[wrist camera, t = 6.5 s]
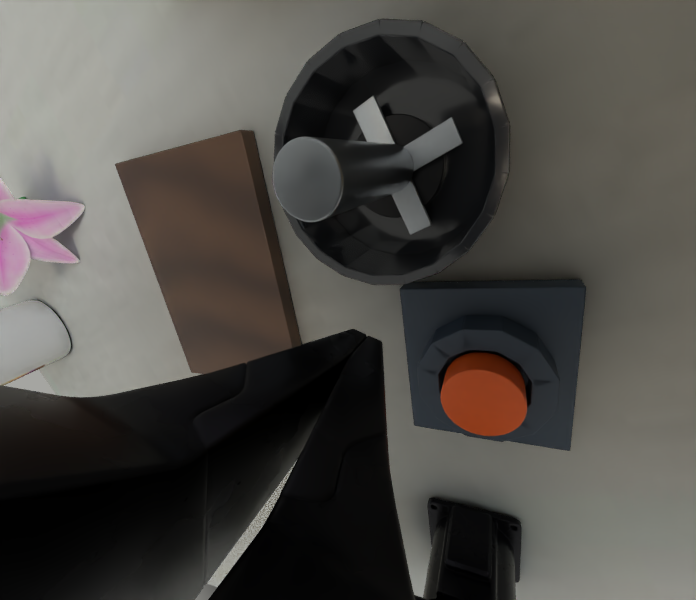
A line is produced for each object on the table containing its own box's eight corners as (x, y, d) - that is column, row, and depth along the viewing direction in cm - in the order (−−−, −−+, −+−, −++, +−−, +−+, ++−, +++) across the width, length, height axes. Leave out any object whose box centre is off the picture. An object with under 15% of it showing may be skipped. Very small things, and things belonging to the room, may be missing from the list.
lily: (65, 280, 37) (-3, 332, 29) (-59, 198, 32) (-186, 233, 23) (133, 213, 34) (78, 250, 26) (8, 109, 29) (-110, 114, 20)
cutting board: (309, 378, 26) (302, 387, 25) (201, 365, 31) (191, 372, 30) (253, 130, 20) (240, 129, 19) (129, 163, 25) (114, 163, 24)
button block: (566, 436, 20) (576, 477, 17) (417, 414, 24) (407, 445, 21) (581, 278, 16) (596, 301, 14) (404, 282, 20) (390, 300, 18)
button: (523, 419, 18) (526, 443, 16) (446, 408, 19) (442, 429, 18) (526, 354, 16) (528, 373, 15) (443, 348, 18) (437, 366, 17)
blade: (487, 196, 16) (474, 243, 8) (373, 249, 20) (280, 320, 11) (432, 62, 15) (348, -52, 7) (321, 142, 18) (173, 133, 10)
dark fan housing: (506, 254, 17) (507, 283, 14) (333, 263, 22) (298, 286, 18) (508, 19, 14) (512, -32, 10) (302, 83, 18) (250, 65, 14)
